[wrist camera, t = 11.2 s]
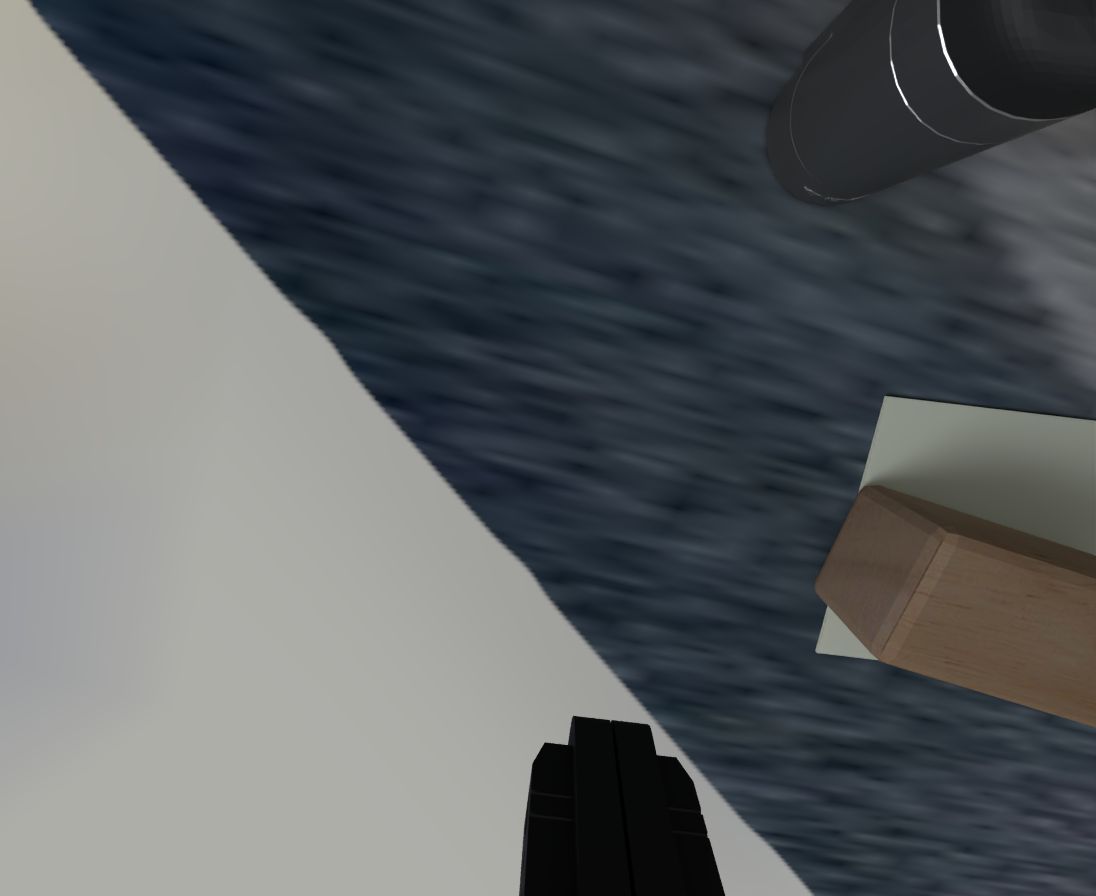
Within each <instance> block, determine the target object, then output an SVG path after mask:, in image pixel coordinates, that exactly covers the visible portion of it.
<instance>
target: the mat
mask: <svg viewBox="0 0 1096 896" xmlns="http://www.w3.org/2000/svg"><path fill="white" fill-rule="evenodd" d="M874 485H880V486H883V487H886V488H889V489H892V490H895V491H898V492H901V493H904V494H908V495H911V496H914V497H917V498H920V499H923V500H926V501H929V502H932V503H935V504H938V505H941V506H945V507H948V508H951V509H954V510H957V511H960V512H963V513H966V514H969V515H972V516H975V517H979V518H982V519H985V520H988V521H991V522H994V523H997V524H1000V525H1003V526H1006V527H1009V528H1013V529H1016V530H1019V531H1022V532H1025V533H1028V534H1031V535H1034V536H1037V537H1040V538H1043V539H1046V540H1050V541H1053V542H1056V543H1059V544H1062V545H1065V546H1068V547H1071V548H1074V549H1077V550H1080V551H1084V552H1087V553H1090V554H1093V555H1095V556H1096V421H1094V420H1085V419H1077V418H1068V417H1060V416H1052V415H1043V414H1035V413H1026V412H1018V411H1009V410H1001V409H992V408H984V407H975V406H967V405H958V404H950V403H942V402H933V401H925V400H916V399H908V398H899V397H891V396H885V397H884V400H883V404H882V408H881V412H880V415H879V419H878V423H877V426H876V430H875V434H874V437H873V441H872V445H871V448H870V452H869V456H868V459H867V463H866V467H865V470H864V474H863V478H862V481H861V485H860V489H859V491H860V490H861V489H862V488H863V487H864V486H874ZM858 493H859V492H858ZM816 652H817V653H823V654H831V655H840V656H849V657H857V658H866V659H874V660H878V659H877V658H876V657H874V656H873V655H872V654H871V653H870V652H869V651H868V650H867V648H866V647H865V646H864V645H863V644H862V643H861V642H860V641H859V640H858V639H857V637H856V636H855V635H854V634H853V633H852V632H851V631H850V630H849V629H848V627H847V626H846V625H845V624H844V623H843V622H842V621H841V620H840V619H839V617H838V616H837V615H836V614H835V613H834V612H833V611H832V610H831V609H830V608H829V606H827V610H826V614H825V617H824V621H823V625H822V628H821V632H820V636H819V639H818V643H817V647H816Z"/></svg>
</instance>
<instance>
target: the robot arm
mask: <svg viewBox="0 0 1096 896" xmlns="http://www.w3.org/2000/svg"><path fill="white" fill-rule="evenodd" d="M1094 108H1096V0H852V1H851V2H850V3H849V5H848V6H847V7H846V8H845V9H844V10H843V11H842V12H841V13H840V14H839V15H838V16H837V17H836V18H835V20H834V21H833V22H832V23H831V24H830V25H829V26H828V27H827V28H826V29H825V30H824V31H823V32H822V33H821V35H820V36H819V37H818V38H817V39H816V40H815V41H814V42H813V43H812V44H811V45H810V46H809V47H808V48H807V50H806V51H805V55H804V60H803V63H802V66H801V68H800V69H799V70H798V72H797V73H796V74H795V75H794V76H793V77H792V78H791V79H790V80H789V81H788V82H787V83H786V85H785V86H784V88H783V89H782V91H781V92H780V94H779V96H778V97H777V99H776V101H775V104H774V106H773V108H772V111H771V113H770V117H769V122H768V127H767V151H768V156H769V162H770V164H771V166H772V169H773V171H774V173H775V176H776V177H777V178H778V180H779V181H780V183H781V184H782V185H783V187H784V188H786V189H787V190H788V191H789V192H790V193H791V194H792V195H794V196H795V197H797V198H799V199H801V200H803V201H805V202H808V203H812V204H816V205H838V204H843V203H847V202H850V201H853V200H856V199H859V198H863V197H866V196H868V195H869V194H871V193H874V192H877V191H879V190H882V189H885V188H888V187H890V186H893V185H895V184H898V183H901V182H903V181H906V180H909V179H911V178H914V177H916V176H919V175H922V174H924V173H927V172H930V171H932V170H935V169H937V168H940V167H943V166H945V165H948V164H951V163H953V162H956V161H958V160H961V159H964V158H966V157H969V156H972V155H974V154H977V153H979V152H982V151H985V150H987V149H990V148H992V147H995V146H998V145H1000V144H1003V143H1006V142H1008V141H1011V140H1013V139H1016V138H1019V137H1021V136H1024V135H1026V134H1029V133H1031V132H1034V131H1037V130H1039V129H1042V128H1044V127H1047V126H1050V125H1052V124H1055V123H1058V122H1060V121H1063V120H1065V119H1068V118H1071V117H1073V116H1076V115H1079V114H1081V113H1084V112H1086V111H1089V110H1092V109H1094ZM521 865H522V866H521V877H520V891H519V896H725V893H724V890H723V886H722V883H721V879H720V875H719V872H718V868H717V865H716V861H715V857H714V854H713V850H712V847H711V843H710V840H709V838H708V837H707V829H706V825H705V822H704V818H703V815H701V807H700V804H699V800H698V797H697V793H696V789H695V786H694V782H693V781H692V779H691V778H690V776H689V775H688V773H687V772H686V771H685V769H684V768H683V767H682V765H681V764H680V762H679V761H678V760H677V758H676V757H667V756H659V755H656V750H655V745H654V741H653V736H652V731H651V728H650V726H649V725H648V724H640V723H632V722H623V721H614V720H612V721H611V722H610V720H604V719H595V718H587V717H578V716H573V717H572V722H571V728H570V735H569V741H568V745H562V744H554V743H544V745H543V747H542V748H541V750H540V752H539V753H538V755H537V757H536V759H535V760H534V762H533V764H532V772H531V779H530V788H529V794H528V802H527V810H526V817H525V825H524V837H523V851H522V864H521Z"/></svg>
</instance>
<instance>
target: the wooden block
mask: <svg viewBox="0 0 1096 896" xmlns="http://www.w3.org/2000/svg"><path fill="white" fill-rule="evenodd" d="M815 591H816V593H817V594H818V595H819V596H820V598H821V599H822V600H823V601H824V602H825V603H826V604H827V605H828V606H829V608H830V609H831V610H832V611H833V612H834V613H835V614H836V615H837V616H838V617H839V619H840V620H841V621H842V622H843V623H844V624H845V625H846V626H847V627H848V629H849V630H850V631H851V632H852V633H853V634H854V635H855V636H856V637H857V639H858V640H859V641H860V642H861V643H862V644H863V645H864V646H865V647H866V648H867V650H868V651H869V652H870V653H871V654H872V655H873V656H874V657H876V658H877V659H878V660H879V661H882V662H884V663H887V664H890V665H894V666H897V667H900V668H903V669H907V670H910V671H913V672H916V673H920V674H923V675H926V676H930V677H933V678H936V679H939V680H943V681H946V682H949V683H952V684H956V685H959V686H962V687H966V688H969V689H972V690H975V691H979V692H982V693H985V694H988V695H992V696H995V697H998V698H1002V699H1005V700H1008V701H1011V702H1015V703H1018V704H1021V705H1024V706H1028V707H1031V708H1034V709H1038V710H1041V711H1044V712H1047V713H1051V714H1054V715H1057V716H1060V717H1064V718H1067V719H1070V720H1073V721H1077V722H1080V723H1083V724H1087V725H1090V726H1093V727H1096V556H1095V555H1093V554H1090V553H1087V552H1084V551H1080V550H1077V549H1074V548H1071V547H1068V546H1065V545H1062V544H1059V543H1056V542H1053V541H1050V540H1046V539H1043V538H1040V537H1037V536H1034V535H1031V534H1028V533H1025V532H1022V531H1019V530H1016V529H1013V528H1009V527H1006V526H1003V525H1000V524H997V523H994V522H991V521H988V520H985V519H982V518H979V517H975V516H972V515H969V514H966V513H963V512H960V511H957V510H954V509H951V508H948V507H945V506H941V505H938V504H935V503H932V502H929V501H926V500H923V499H920V498H917V497H914V496H911V495H908V494H904V493H901V492H898V491H895V490H892V489H889V488H886V487H883V486H880V485H874V486H864V487H863V488H862V489H861V490H860V491H859V493H858V495H857V497H856V499H855V501H854V503H853V505H852V507H851V509H850V511H849V513H848V515H847V517H846V519H845V521H844V523H843V526H842V528H841V530H840V532H839V534H838V536H837V538H836V540H835V542H834V544H833V546H832V548H831V550H830V552H829V554H828V556H827V558H826V560H825V562H824V564H823V566H822V568H821V570H820V572H819V574H818V576H817V578H816V580H815Z"/></svg>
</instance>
